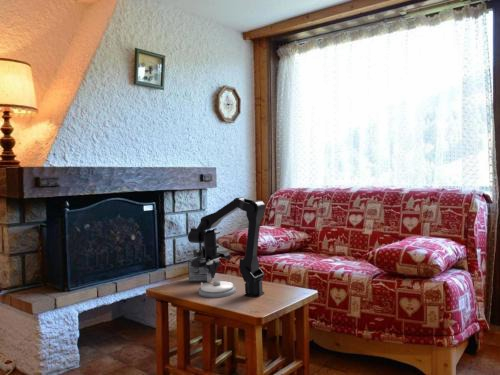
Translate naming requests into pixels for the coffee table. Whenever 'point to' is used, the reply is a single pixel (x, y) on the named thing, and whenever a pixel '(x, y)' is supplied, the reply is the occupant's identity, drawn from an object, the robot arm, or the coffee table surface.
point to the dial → (216, 285)
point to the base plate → (215, 295)
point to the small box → (197, 272)
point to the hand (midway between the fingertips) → (212, 278)
